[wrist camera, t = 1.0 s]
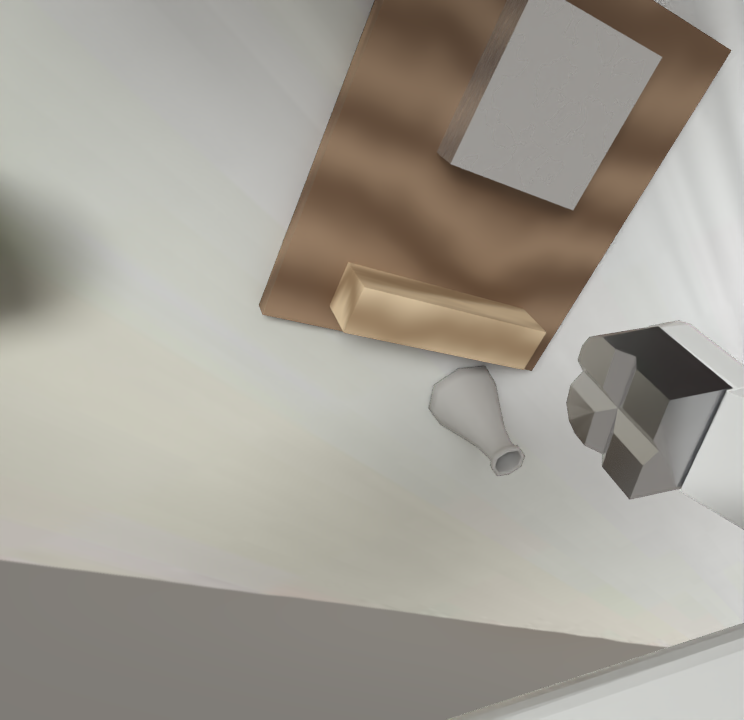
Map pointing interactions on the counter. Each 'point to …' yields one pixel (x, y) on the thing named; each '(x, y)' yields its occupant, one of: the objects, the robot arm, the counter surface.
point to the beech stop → (433, 318)
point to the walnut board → (459, 186)
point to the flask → (476, 416)
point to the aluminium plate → (547, 100)
